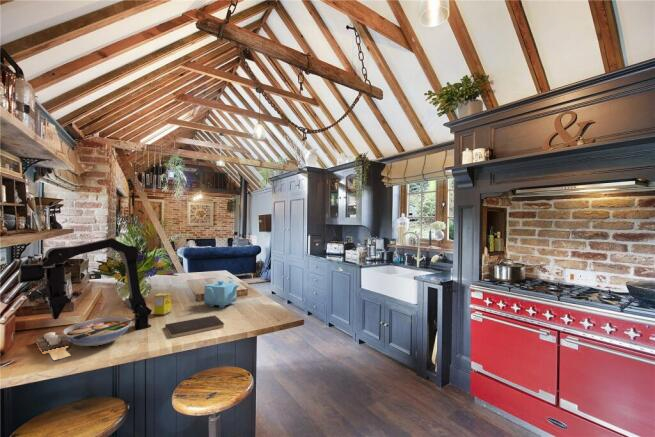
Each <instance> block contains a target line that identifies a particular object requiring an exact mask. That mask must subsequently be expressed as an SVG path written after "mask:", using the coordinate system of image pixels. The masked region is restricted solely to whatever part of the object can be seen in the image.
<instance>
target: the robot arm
mask: <svg viewBox="0 0 655 437" xmlns="http://www.w3.org/2000/svg"><path fill="white" fill-rule="evenodd" d="M109 248H110V249H111V250H113V251H116V252H117V253H118V254H119V257H120V258H121V261H122V263H123V265H124V268H125V274H126V279H127V286H128V292H129V295H128V297H127V298H125V299H124V301H125V303H126V305H125V307H126V308H127V309H128V310H129V311H131V312H132V314H133V315H134V319H136V318H139V319H136V320H133V321H134V324H133V325H131V328H132V329H133V330H135V331H138V330H142V329H146V328H150V327H152V325H151V324H150V323H149V318H150V317H149V316H151V314H152V312H153V311H152V309H150V307H148V306H147V303H146V300H145V298H144V296H143V294H142V292H141V285H140V280H139V275H138V267H137V263H138V262H137V261H138V260H139V249H138V248H137V247H136V246H134V245H130V244H129V245H128V244H125V243H123V242H120V241H118V240H117V239H116V238H112V237H108V238H105V239H100V240H97V241H92V242H91V241H90V242H87V243H83V244H77V245H73V246H72V245H71V246H69V245H68V246H57V247H51V248H49V249H47V250H46V252H45V253H44V254H45V256H44V257H43V258H42V259H41V260H40V261H39V262H38V263H33V264H20V265H19V269H18V270H19V271H18V274H17V276H18V277H17V278H18V279H17V280H18V283H19V284H25V283H35V282H41V280H43V279H45V282H44V283H43V286H41V287H37V288H35V289H33V291H32V290H30V291H27V292H25V293H24V296H25V297H26V299H27V301H28V302H29V303H33V302H35V301H36V300H40V299H41V300H43V303H45V304H46V305H47V306H49V310H50V314H51V316H52V319H53V320H58V319H59V318H60V315H61V314H62V312H63V309H64V308H65V306H66V304H71V303H72V297H71V296H69V295H68V294H67V291H66V285H67V284H68V283H67V281H66V268H72V267H73V265H72V264H70V263H69V262H68V261H67V260H70V259H72V258H74V257H77V256H80V255H83V254H88V253H92V252H95V251H100V250H103V249H104V250H105V249H109ZM30 292H31V294H30V295H29V293H30ZM44 299H45V300H44Z"/></svg>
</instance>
